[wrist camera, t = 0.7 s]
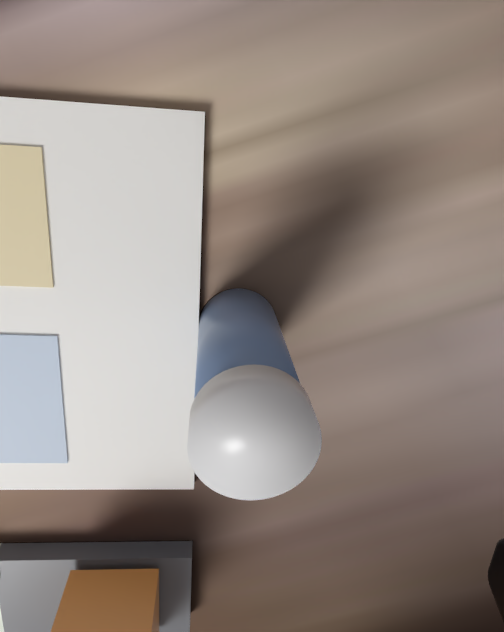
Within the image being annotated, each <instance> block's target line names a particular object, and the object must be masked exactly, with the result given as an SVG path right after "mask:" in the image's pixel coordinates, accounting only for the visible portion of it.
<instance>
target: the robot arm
mask: <svg viewBox="0 0 504 632" xmlns="http://www.w3.org/2000/svg"><path fill="white" fill-rule="evenodd" d="M0 576H1V573H0ZM488 581H489V585H490V588H491V590H492V593H493V596H494V598H495V601H496V603H497V606H498V609H499V611H500V614H501V616H502V619H503V622H504V539H501V540H499V541H498V543H497V545H496V548H495V551H494V554H493V557H492V560H491V563H490V566H489V569H488Z"/></svg>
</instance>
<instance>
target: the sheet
mask: <svg viewBox="0 0 504 632" xmlns="http://www.w3.org/2000/svg"><path fill="white" fill-rule="evenodd" d="M204 130H205V112H201V111H187V110H174V109H161V108H147V107H134V106H121V105H108V104H94V103H81V102H68V101H54V100H41V99H28V98H14V97H1V96H0V490H77V489H194V475H195V472H194V470H193V469H192V466H191V464H190V461H189V457H188V450H187V443H188V430H189V417H190V410H191V406H192V404H193V401H194V395H195V379H196V363H197V347H198V331H199V303H200V268H201V234H202V199H203V165H204Z"/></svg>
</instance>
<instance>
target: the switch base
mask: <svg viewBox="0 0 504 632" xmlns="http://www.w3.org/2000/svg"><path fill="white" fill-rule="evenodd" d="M192 544H193V541H157V542H75V543H0V573H1V576H0V632H51V629H52V626H53V623H54V620H55V617H56V614H57V611H58V607H59V604H60V601H61V598H62V595H63V592H64V589H65V586H66V583H67V580H68V577H69V574H70V570H103V569H159V632H190V612H191V578H192Z"/></svg>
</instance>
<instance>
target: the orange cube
mask: <svg viewBox="0 0 504 632" xmlns="http://www.w3.org/2000/svg"><path fill="white" fill-rule="evenodd" d="M51 632H159V569H103V570H70V574H69V577H68V580H67V583H66V586H65V589H64V592H63V595H62V598H61V601H60V604H59V607H58V611H57V614H56V617H55V620H54V623H53V626H52V629H51Z"/></svg>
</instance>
